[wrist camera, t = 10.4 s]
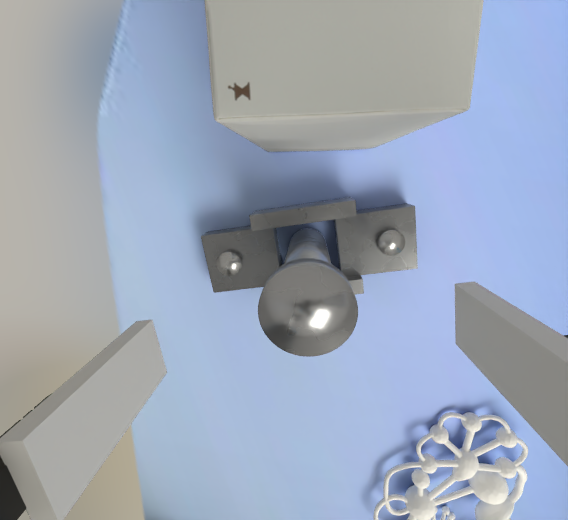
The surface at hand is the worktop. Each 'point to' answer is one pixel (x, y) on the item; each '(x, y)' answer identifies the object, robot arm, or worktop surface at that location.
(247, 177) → the worktop surface
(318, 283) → the pin
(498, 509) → the tangled rod sculpture
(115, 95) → the worktop surface
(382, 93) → the supplement box
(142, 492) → the worktop surface
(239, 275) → the bolted rod clamp
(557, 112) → the worktop surface
